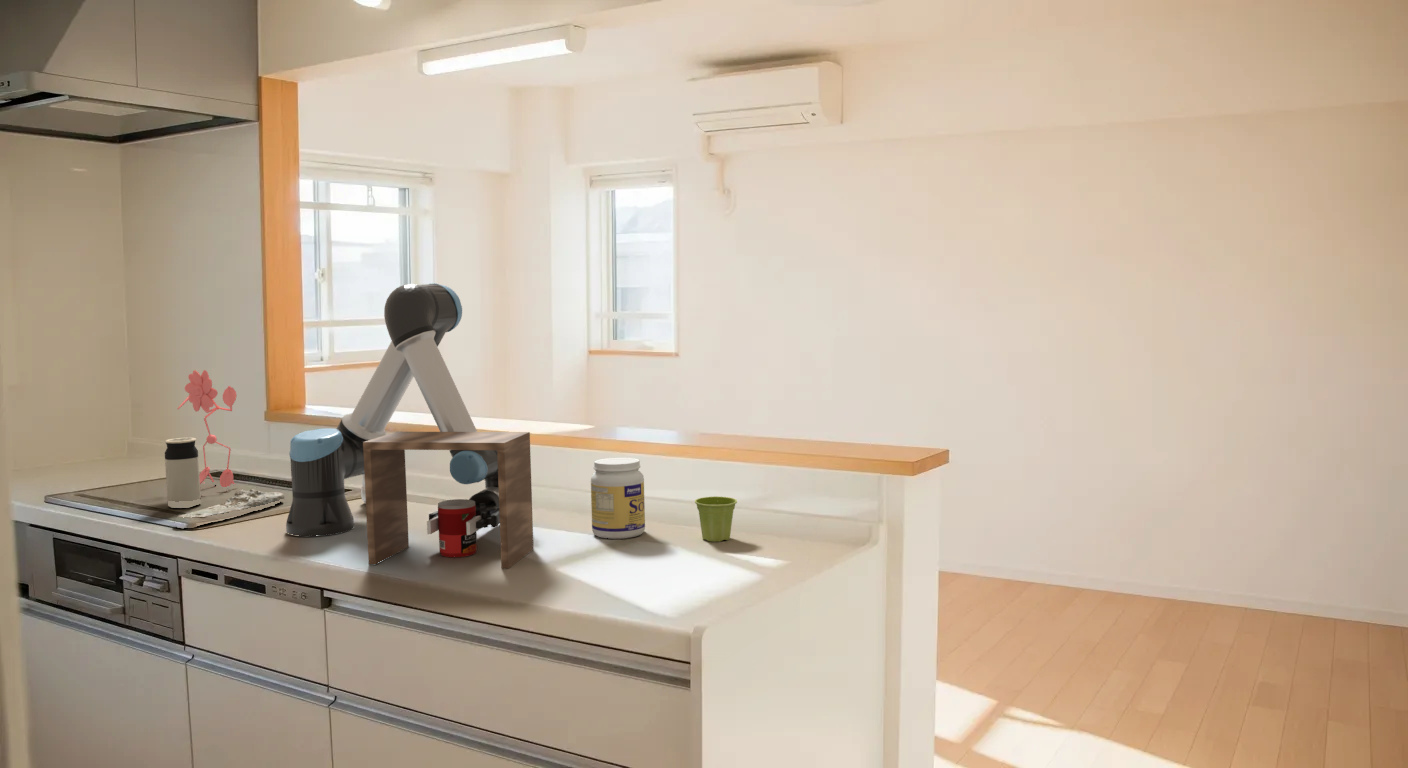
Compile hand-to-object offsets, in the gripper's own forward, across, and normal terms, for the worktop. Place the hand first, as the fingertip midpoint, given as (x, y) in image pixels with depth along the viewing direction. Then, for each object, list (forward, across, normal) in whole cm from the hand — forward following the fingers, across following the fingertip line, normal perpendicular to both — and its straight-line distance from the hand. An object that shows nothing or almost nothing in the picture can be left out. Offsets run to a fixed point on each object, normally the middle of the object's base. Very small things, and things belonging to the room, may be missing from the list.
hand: (448, 528), depth 225 cm
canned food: (-5, 0, -7) cm, 8 cm away
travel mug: (-48, +94, -7) cm, 106 cm away
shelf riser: (-2, 0, -7) cm, 7 cm away
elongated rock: (-39, +75, -7) cm, 84 cm away
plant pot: (-23, -53, -7) cm, 58 cm away
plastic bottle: (-56, +44, -7) cm, 71 cm away
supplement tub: (-26, -30, -7) cm, 40 cm away
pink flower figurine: (-69, +102, -7) cm, 123 cm away
